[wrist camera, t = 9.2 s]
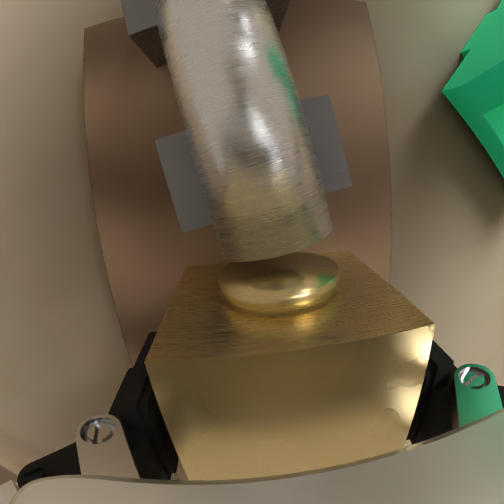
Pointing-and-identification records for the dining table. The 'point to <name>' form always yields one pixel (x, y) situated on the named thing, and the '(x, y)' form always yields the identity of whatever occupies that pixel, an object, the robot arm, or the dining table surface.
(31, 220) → the dining table surface
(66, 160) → the dining table surface
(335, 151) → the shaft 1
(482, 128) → the camera mount
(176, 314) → the gold square block
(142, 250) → the shaft bed
